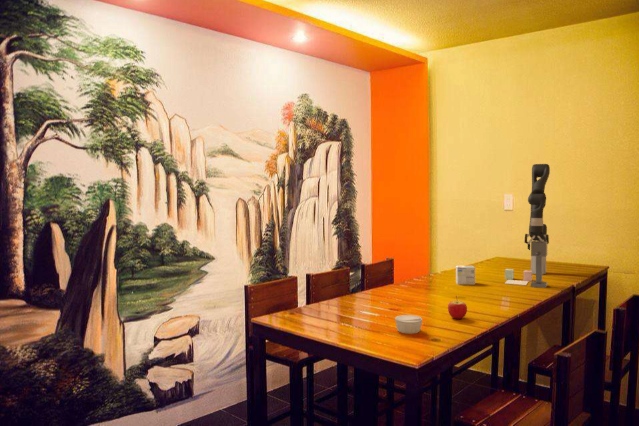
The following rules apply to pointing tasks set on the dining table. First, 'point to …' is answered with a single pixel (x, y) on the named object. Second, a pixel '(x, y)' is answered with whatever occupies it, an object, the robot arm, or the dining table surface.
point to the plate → (516, 282)
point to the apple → (457, 309)
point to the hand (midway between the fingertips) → (536, 250)
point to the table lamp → (539, 261)
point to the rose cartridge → (527, 275)
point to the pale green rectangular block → (509, 274)
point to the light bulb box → (465, 275)
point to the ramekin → (408, 324)
